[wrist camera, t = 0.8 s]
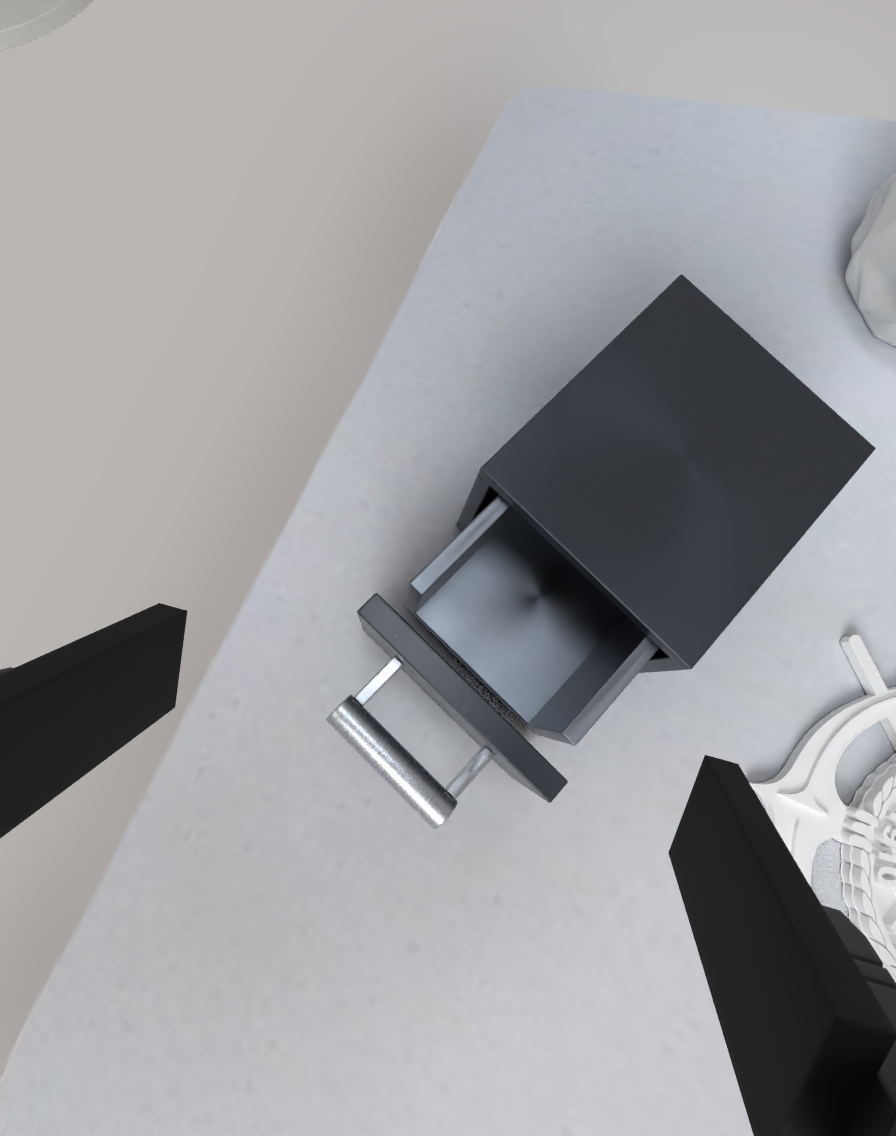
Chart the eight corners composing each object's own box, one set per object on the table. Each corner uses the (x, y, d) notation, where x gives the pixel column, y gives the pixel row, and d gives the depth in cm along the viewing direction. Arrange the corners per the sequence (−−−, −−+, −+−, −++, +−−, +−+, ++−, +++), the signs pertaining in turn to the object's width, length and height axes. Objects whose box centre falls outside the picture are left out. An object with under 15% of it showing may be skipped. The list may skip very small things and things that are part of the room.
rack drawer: (456, 840, 32) (479, 887, 24) (304, 686, 33) (280, 685, 25) (666, 601, 36) (742, 577, 28) (525, 468, 37) (562, 410, 29)
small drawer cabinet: (610, 675, 36) (691, 669, 26) (455, 525, 36) (479, 468, 27) (757, 507, 39) (876, 448, 29) (610, 372, 39) (681, 273, 30)
